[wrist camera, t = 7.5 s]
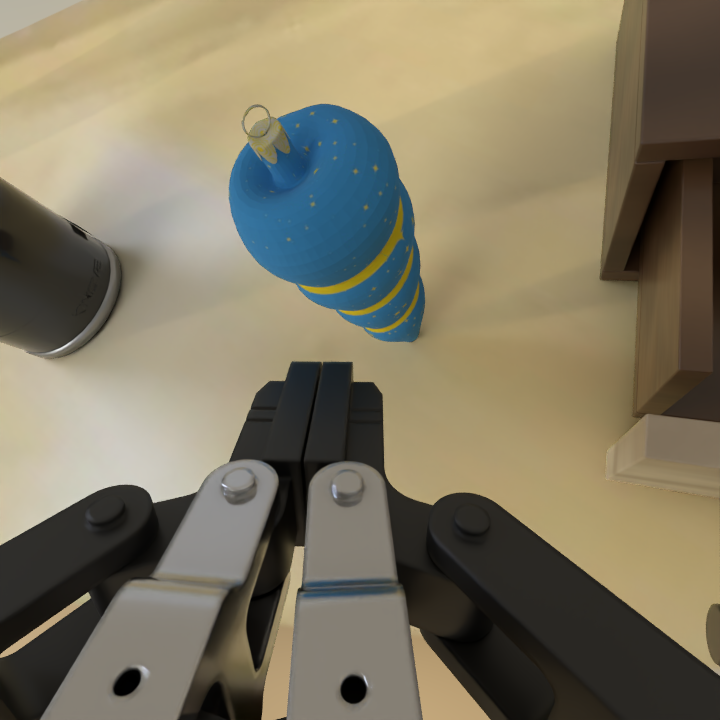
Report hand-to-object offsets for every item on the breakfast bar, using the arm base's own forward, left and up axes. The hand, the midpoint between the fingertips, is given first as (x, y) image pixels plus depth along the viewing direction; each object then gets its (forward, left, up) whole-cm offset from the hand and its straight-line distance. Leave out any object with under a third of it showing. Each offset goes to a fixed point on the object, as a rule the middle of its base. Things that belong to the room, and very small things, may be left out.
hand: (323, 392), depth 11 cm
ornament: (-2, +6, -12) cm, 13 cm away
